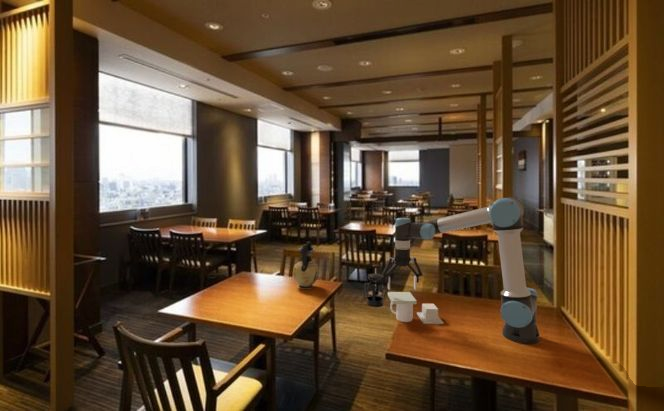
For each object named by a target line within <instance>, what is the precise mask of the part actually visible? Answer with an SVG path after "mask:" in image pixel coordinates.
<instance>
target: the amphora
mask: <svg viewBox="0 0 664 411" xmlns="http://www.w3.org/2000/svg"><path fill="white" fill-rule="evenodd" d="M297 250H298V251H299V252H300V254H301V259H300V260H299V261H298V262H297V263H295V265H294V266H293V271H292V273H293V277H294V280H295V282H296V283H297V284H298V289H300V290H311V289H313V288H314V286H313V285H314V284H315V283H316V282H317V279H318V278H319V274H320V268H319V265H318V263H316V262H314V261H313V260H312V255H313V253H314V251H316V248H315V247H313V246H312V242H311V241H310V240H309V241H306V243H304V244H303V245H302V247H299V248H297Z"/></svg>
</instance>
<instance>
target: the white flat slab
mask: <svg viewBox="0 0 664 411" xmlns="http://www.w3.org/2000/svg"><path fill="white" fill-rule="evenodd" d="M387 296H388V298H389V301H390V303H391V302H392V304H393V305H396V304H413V305H417V299H416V298H415V297H414V296H413V294H412V293H411V292H410V291H397V292H396V291H388V292H387Z"/></svg>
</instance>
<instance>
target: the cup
mask: <svg viewBox="0 0 664 411" xmlns="http://www.w3.org/2000/svg"><path fill="white" fill-rule="evenodd" d="M393 305H394V304H392V302H391V301H390V304H389V308H390V313H392V314H393V315H395V318H396V320H397V321H398V322H401V323H410V322H412V321H413V314H414V308H413V307H414V304H395V305H396V307H395V308H396V310H395V311H394V310H393Z"/></svg>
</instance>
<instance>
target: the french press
mask: <svg viewBox="0 0 664 411" xmlns="http://www.w3.org/2000/svg"><path fill="white" fill-rule="evenodd" d="M371 266H372V267H374V269H375V270H374V271H375V273H368V274H367V277H368V280H369V282H365V283H364V284H363V287H364V288H363V298H364V299H365V300H367V301H366V305H367V306H368V307H372V308H380V307H383V306H384V283H383V282H381V279H382V278H384V276H383V274H382V273H377V268H378V267H380V265H379V264H372V265H371ZM366 285H367V288H370V289H372V290H370V291H369V289H367V290H366ZM379 289H382V291H379ZM366 291H367V296H366Z"/></svg>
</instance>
